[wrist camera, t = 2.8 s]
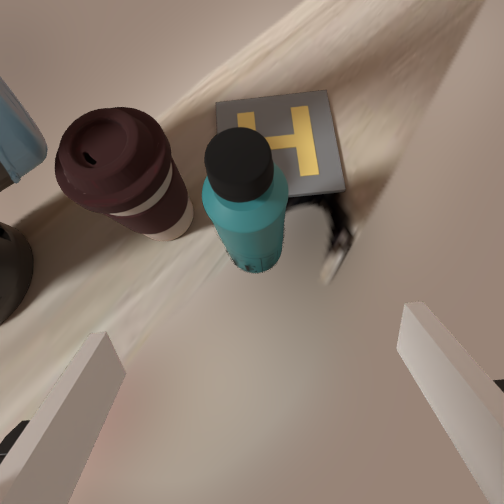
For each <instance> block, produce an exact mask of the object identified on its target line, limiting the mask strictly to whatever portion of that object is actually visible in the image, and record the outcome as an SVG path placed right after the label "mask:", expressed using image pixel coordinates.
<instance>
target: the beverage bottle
mask: <svg viewBox="0 0 504 504" xmlns="http://www.w3.org/2000/svg"><path fill="white" fill-rule="evenodd" d="M204 159H205V167H206V170H207V177H206V179H205V181H204V184H203V189H202V202H203V205H204V208H205V211H206V213H207V214H208V216H209V218H210V219H211V220H212V222H213V225H215V228H216V230H217V232H218V234H219V236H220V238H221V239H222V241H223V242H222V243H224V245H225V247H226V249H227V251H228V252H229V254H230V256H231V258H232V260H233V261H234V263H235V265H236V266H238V267H239V268H241V269H242V270H244V271H246V272H251V273H259V272H263V271H266V270H269V269H270V268H272V267H273V266H274V265H275V264H276V262H277V261H278V259H279V257H280V255H281V251H282V242H283V231H284V219H285V211H286V204H287V201H288V192H289V190H288V183H287V180H286V177H285V175H284V174H283V172H282V170H281V169H280V168H279V167H278V166H277V165H276V164H275V163H274V162H273V159H272V152H271V148H270V146H269V143H268V142H267V140H266V139H265V138H264V136H263V135H261V134H260V133H259V132H257V131H255V130H253V129H250V128H246V127H234V128H229V129H226V130H224V131H222V132H220V133H218V134H217V135H216V136H215V137H214V138H213V139H212V140H211V141H210V143H209V144H208V146H207V148H206V152H205V158H204ZM217 236H218V235H217ZM227 251H226V252H227ZM228 252H227V253H228ZM228 256H229V255H228Z"/></svg>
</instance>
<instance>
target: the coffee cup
mask: <svg viewBox="0 0 504 504" xmlns="http://www.w3.org/2000/svg"><path fill="white" fill-rule="evenodd" d="M55 175H56V179H57V182H58V184H59V186H60V188H61V190H62V191H63V192H64V194H65V195H66V196H67V197H69V198H70V199H71V200H73V201H74V202H76V203H77V204H79V205H80V206H82V207H84V208H85V209H88V210H90V211H93V212H97V213H103V214H104V215H106V216H108V217H110V218H112V219H113V220H115V221H117V222H119V223H120V224H122V225H124V226H126V227H128V228H129V229H131V230H133V231H135V232H138V233H141V234H144V235H146V236H147V237H149V238H151V239H153V240H157V241H170V240H173V239H176V238H178V237H179V236H181V235H182V234H183V233H185V232H186V230H187V229H188V228H189V226H190V224H191V222H192V219H193V205H192V203H191V200H190V198H189V196H188V193H187V189H186V186H185V184H184V182H183V180H182V177H181V175H180V173H179V171H178V169H177V167H176V165H175V163H174V161H173V158H172V156H171V148H170V144H169V141H168V139H167V137H166V135H165V134H164V132H163V130H162V128H161V127H160V125H159V124H158V123H157V121H156V120H155V119H153V118H152V117H151V116H150V115H148V114H146V113H145V112H142V111H140V110H137V109H134V108H126V107H117V108H116V107H115V108H104V109H97V110H94V111H90V112H88V113H86V114H84V115H82V116H81V117H79V118H78V119H76V120H75V121H74V122H73V123H72V124H71V125H70V126H69V127H68V128H67V130H66V131H65V133H64V134H63V136H62V139H61V141H60V145H59V148H58V151H57V154H56V158H55Z"/></svg>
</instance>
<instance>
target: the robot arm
mask: <svg viewBox="0 0 504 504" xmlns="http://www.w3.org/2000/svg"><path fill="white" fill-rule="evenodd" d="M46 156H47V144H46V141H45V139H44V137H43V135H42V133H41V132H40V130H39V128H38V127H37V125H36V124H35V122H34V121H33V119H32V118H31V117H30V115H29V114H28V112H27V111H26V110H25V108H24V107H23V106H22V104H21V103H20V101H19V100H18V99H17V97H16V96H15V95H14V93H13V92H12V91H11V90H10V88H9V87H8V86H7V84H6V83H5V82H4V81H3V79H2V78H1V77H0V192H1V191H2V190H4V189H5V188H7V187H9V186H10V185H12V184H14V183H18V182H19V181H20V180H21V179H20V178H21V177H22V176H24V175H25V174H27V173H28V172H29V171H31V170H32V169H34V168H35V167H36V166H38V165H39V164H41V163H42V162H43V161H44V159H45V158H46ZM32 271H33V257H32V251H31V248H30V246H29V244H28V242H27V240H26V238H25V237H24V236H23V235H22V234H21V233H20V232H19V231H18V230H16V229H15V228H13V227H11V226H9V225H6V224H4V223H1V222H0V323H2V322H3V321H4V320H5V319H6V318H7V317H9V316H10V315H11V313H12V312H13V311H14V310H15V309H16V308H17V306H18V305H19V303H20V302H21V300H22V299H23V297H24V295H25V293H26V291H27V289H28V287H29V284H30V281H31V277H32ZM397 351H398V353H399V354H400V356H401V358H402V359H403V361H404V362H405V364H406V366H407V367H408V369H409V371H410V372H411V374H412V376H413V377H414V379H415V381H416V382H417V384H418V386H419V387H420V389H421V391H422V392H423V394H424V396H425V397H426V399H427V401H428V402H429V404H430V406H431V407H432V409H433V410H434V412H435V414H436V415H437V417H438V419H439V420H440V422H441V424H442V425H443V427H444V429H445V430H446V432H447V434H448V435H449V437H450V438H451V440H452V442H453V444H454V445H455V447H456V449H457V450H458V452H459V454H460V455H461V457H462V459H463V460H464V462H465V464H466V465H467V467H468V468H469V470H470V472H471V473H472V475H473V477H474V478H475V480H476V482H477V483H478V485H479V487H480V488H481V490H482V492H483V493H484V495H485V497H486V498H487V500H488V502H489V503H490V504H504V380H492V379H491V378H490V377H489V376H488V375H487V373H486V372H485V371H484V370H483V369H482V368H481V367H480V366H479V365H478V363H477V362H476V361H475V360H474V359H473V358H472V356H471V355H470V354H469V353H468V352H467V351H466V350H465V349H464V347H463V346H462V345H461V344H460V343H459V342H458V341H457V339H456V338H455V337H454V336H453V335H452V334H451V333H450V332H449V331H448V329H447V328H446V327H445V326H444V325H443V324H442V322H441V321H440V320H439V319H438V318H437V317H436V316H435V315H434V313H433V312H432V311H431V310H430V309H429V308H428V307H427V305H426V304H425V303H424V302H423V301H421V302H410V303H405V304H404V310H403V315H402V321H401V326H400V332H399V338H398V343H397ZM125 375H126V372H125V370H124V368H123V366H122V364H121V361H120V359H119V357H118V355H117V353H116V351H115V349H114V347H113V344H112V342H111V340H110V338H109V336H108V334H107V332H99V333H90V334H89V335H88V337H87V338H86V340H85V341H84V343H83V344H82V346H81V347H80V349H79V350H78V352H77V353H76V354H75V356H74V357H73V359H72V360H71V362H70V363H69V365H68V366H67V368H66V369H65V371H64V372H63V373H62V375H61V376H60V378H59V379H58V381H57V382H56V384H55V385H54V387H53V388H52V390H51V391H50V392H49V394H48V395H47V397H46V398H45V400H44V401H43V403H42V404H41V406H40V407H39V409H38V410H37V411H36V413H35V414H34V416H33V417H32V419H31V420H27V421H22V422H20V423H19V424H18V425H17V426H16V427H15V428H14V429H13V430H12V431H11V432H10V433H9V434H8V435H7V436H6V437H5V438H4V439H3V441H2V442H1V444H0V504H68V502H69V500H70V498H71V496H72V493H73V491H74V489H75V487H76V484H77V482H78V480H79V478H80V476H81V473H82V471H83V469H84V467H85V464H86V462H87V460H88V458H89V455H90V453H91V451H92V448H93V447H94V444H95V442H96V440H97V438H98V435H99V433H100V431H101V429H102V426H103V424H104V422H105V420H106V418H107V415H108V413H109V411H110V409H111V406H112V404H113V402H114V399H115V397H116V395H117V393H118V391H119V389H120V386H121V384H122V382H123V380H124V377H125Z"/></svg>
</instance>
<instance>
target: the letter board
mask: <svg viewBox="0 0 504 504" xmlns="http://www.w3.org/2000/svg"><path fill="white" fill-rule="evenodd" d="M216 119H217V134H218V133H220V132H222V131H224V130H226V129H229V128H234V127H246V128H250V129H253V130H255V131H257V132H259V133H260V134H261V135H263V136H264V138H265V139H266V140H267V142H268V143H269V146H270V148H271V152H272V159H273V162H274V163H275V164H276V165H277V166H278V167H279V168H280V169H281V170H282V172H283V174H284V175H285V177H286V180H287V183H288V190H289V192H288V197H297V196H307V195H317V194H327V193H337V192H345V190H346V189H345V184H344V178H343V173H342V168H341V163H340V158H339V153H338V147H337V142H336V137H335V132H334V127H333V121H332V116H331V111H330V106H329V101H328V96H327V90H321V91H312V92H303V93H294V94H286V95H277V96H268V97H259V98H251V99H242V100H233V101H224V102H216Z"/></svg>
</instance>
